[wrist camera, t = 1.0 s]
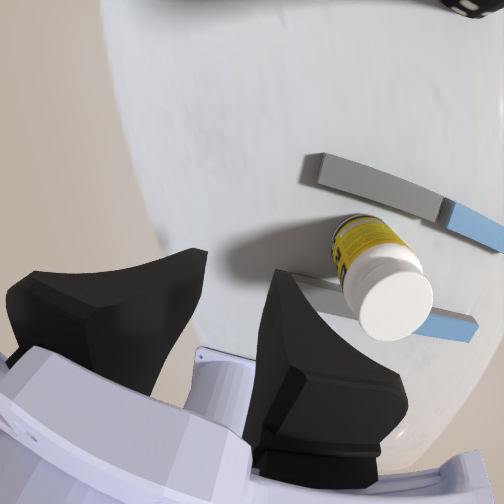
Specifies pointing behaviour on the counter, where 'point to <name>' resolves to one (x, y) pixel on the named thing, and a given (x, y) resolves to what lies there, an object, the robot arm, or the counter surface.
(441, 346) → the counter surface
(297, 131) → the counter surface
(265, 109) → the counter surface
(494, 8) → the spotted tube
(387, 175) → the grey and blue rails
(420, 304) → the supplement bottle
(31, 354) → the robot arm
